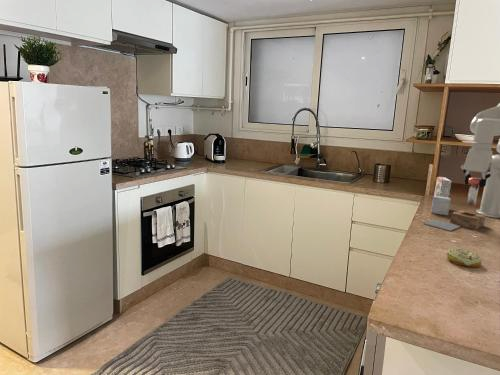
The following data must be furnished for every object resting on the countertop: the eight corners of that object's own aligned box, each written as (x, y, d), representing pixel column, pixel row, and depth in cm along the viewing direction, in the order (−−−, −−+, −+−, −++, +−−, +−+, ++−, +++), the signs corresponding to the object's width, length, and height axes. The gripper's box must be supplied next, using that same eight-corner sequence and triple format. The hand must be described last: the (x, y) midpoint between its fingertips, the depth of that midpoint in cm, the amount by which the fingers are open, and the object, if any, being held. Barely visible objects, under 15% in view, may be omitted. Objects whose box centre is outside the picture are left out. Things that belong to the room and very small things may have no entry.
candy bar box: (431, 205, 213) (436, 176, 210) (441, 206, 212) (446, 177, 209) (437, 210, 203) (442, 180, 199) (447, 211, 202) (452, 181, 198)
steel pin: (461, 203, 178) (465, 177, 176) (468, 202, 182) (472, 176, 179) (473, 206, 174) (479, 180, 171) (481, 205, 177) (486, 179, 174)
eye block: (458, 219, 187) (460, 209, 186) (483, 225, 179) (485, 215, 178) (449, 223, 180) (451, 213, 179) (475, 229, 172) (477, 219, 171)
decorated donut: (471, 271, 126) (473, 260, 125) (440, 259, 134) (441, 249, 133) (486, 265, 132) (488, 255, 131) (455, 254, 140) (457, 244, 139)
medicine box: (447, 213, 196) (450, 197, 195) (447, 216, 192) (450, 199, 191) (430, 211, 200) (433, 195, 198) (430, 213, 196) (433, 197, 194)
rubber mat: (434, 220, 183) (434, 219, 183) (461, 226, 175) (461, 225, 175) (423, 224, 175) (423, 223, 175) (450, 231, 167) (450, 230, 167)
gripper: (458, 144, 177) (451, 182, 181) (497, 149, 162) (489, 190, 166) (467, 144, 180) (460, 181, 185) (506, 149, 166) (498, 189, 170)
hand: (474, 185), depth 175 cm, fingers closed on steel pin, 6 cm apart
